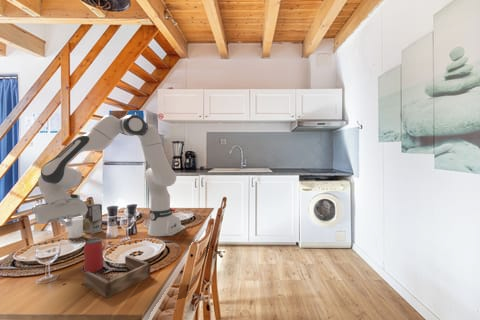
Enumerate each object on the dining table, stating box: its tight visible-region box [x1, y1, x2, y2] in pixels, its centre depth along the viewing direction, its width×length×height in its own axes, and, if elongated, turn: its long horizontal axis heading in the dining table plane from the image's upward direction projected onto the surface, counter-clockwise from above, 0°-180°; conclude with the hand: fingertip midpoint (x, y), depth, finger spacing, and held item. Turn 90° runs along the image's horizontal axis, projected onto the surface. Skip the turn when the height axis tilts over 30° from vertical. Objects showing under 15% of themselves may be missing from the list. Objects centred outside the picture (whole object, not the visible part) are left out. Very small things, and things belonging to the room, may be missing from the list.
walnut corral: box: [84, 255, 151, 299], centre depth 96 cm, size 17×14×5 cm
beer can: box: [83, 238, 104, 273], centre depth 105 cm, size 7×7×12 cm
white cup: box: [66, 216, 84, 239], centre depth 144 cm, size 8×8×10 cm
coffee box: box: [82, 202, 103, 234], centre depth 153 cm, size 9×6×16 cm
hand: (68, 225), depth 115 cm, fingers closed
